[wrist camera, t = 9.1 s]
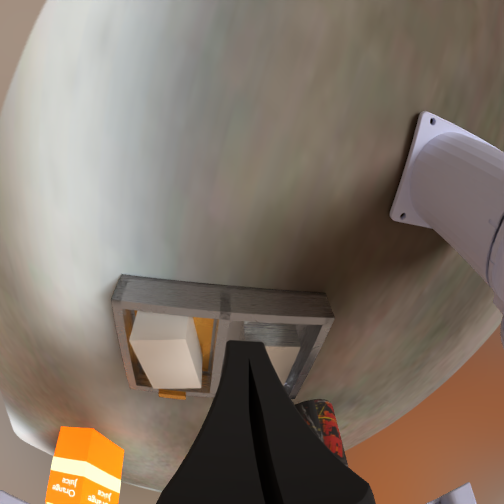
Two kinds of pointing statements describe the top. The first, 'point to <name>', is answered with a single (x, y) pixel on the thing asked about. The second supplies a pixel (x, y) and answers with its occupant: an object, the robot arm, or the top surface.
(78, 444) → the orange juice
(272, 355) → the rack
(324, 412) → the deodorant
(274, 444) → the robot arm
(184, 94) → the top surface
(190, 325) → the off-white upright block
